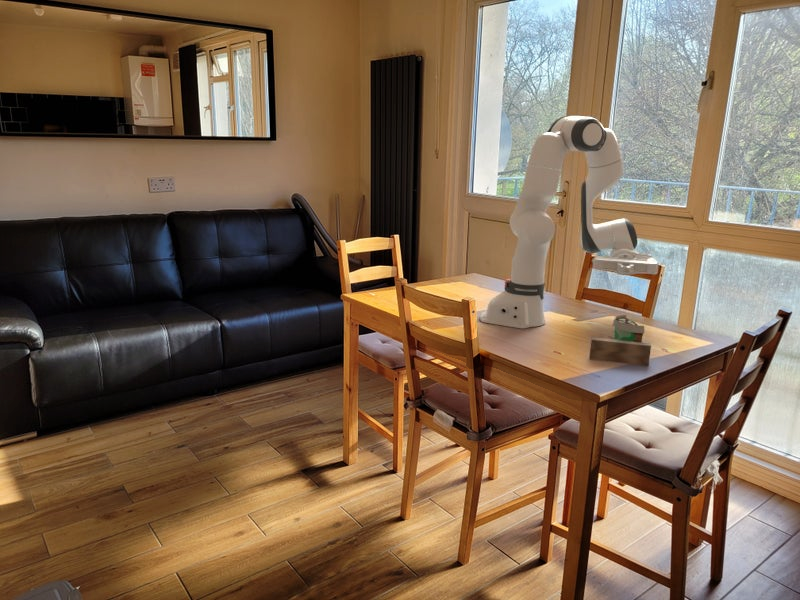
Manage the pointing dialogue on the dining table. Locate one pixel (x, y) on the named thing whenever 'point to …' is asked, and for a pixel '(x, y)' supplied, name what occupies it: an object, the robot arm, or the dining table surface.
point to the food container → (627, 329)
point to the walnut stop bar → (620, 351)
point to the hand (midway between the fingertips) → (625, 269)
